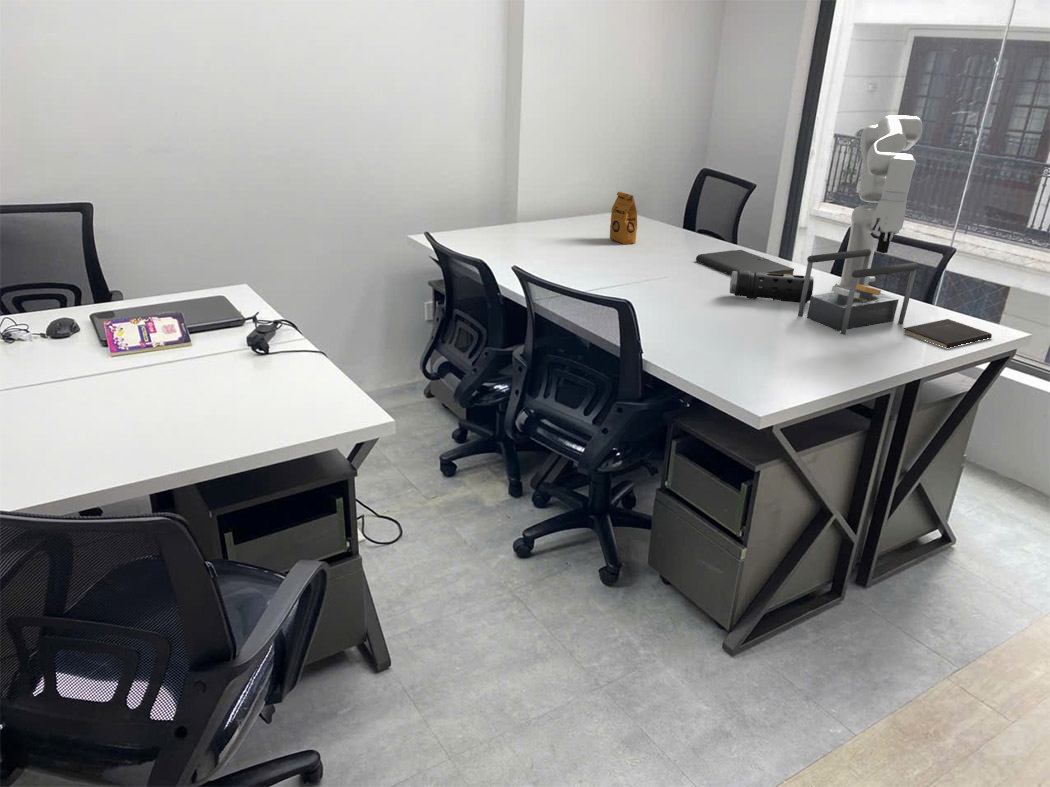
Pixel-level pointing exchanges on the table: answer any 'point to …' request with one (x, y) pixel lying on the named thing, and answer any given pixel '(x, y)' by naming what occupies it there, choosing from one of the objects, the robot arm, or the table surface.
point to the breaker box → (852, 309)
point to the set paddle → (844, 291)
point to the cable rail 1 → (830, 257)
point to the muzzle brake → (769, 286)
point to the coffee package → (624, 219)
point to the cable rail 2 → (880, 271)
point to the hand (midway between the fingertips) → (881, 252)
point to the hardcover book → (947, 333)
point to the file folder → (742, 262)
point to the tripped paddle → (868, 289)
